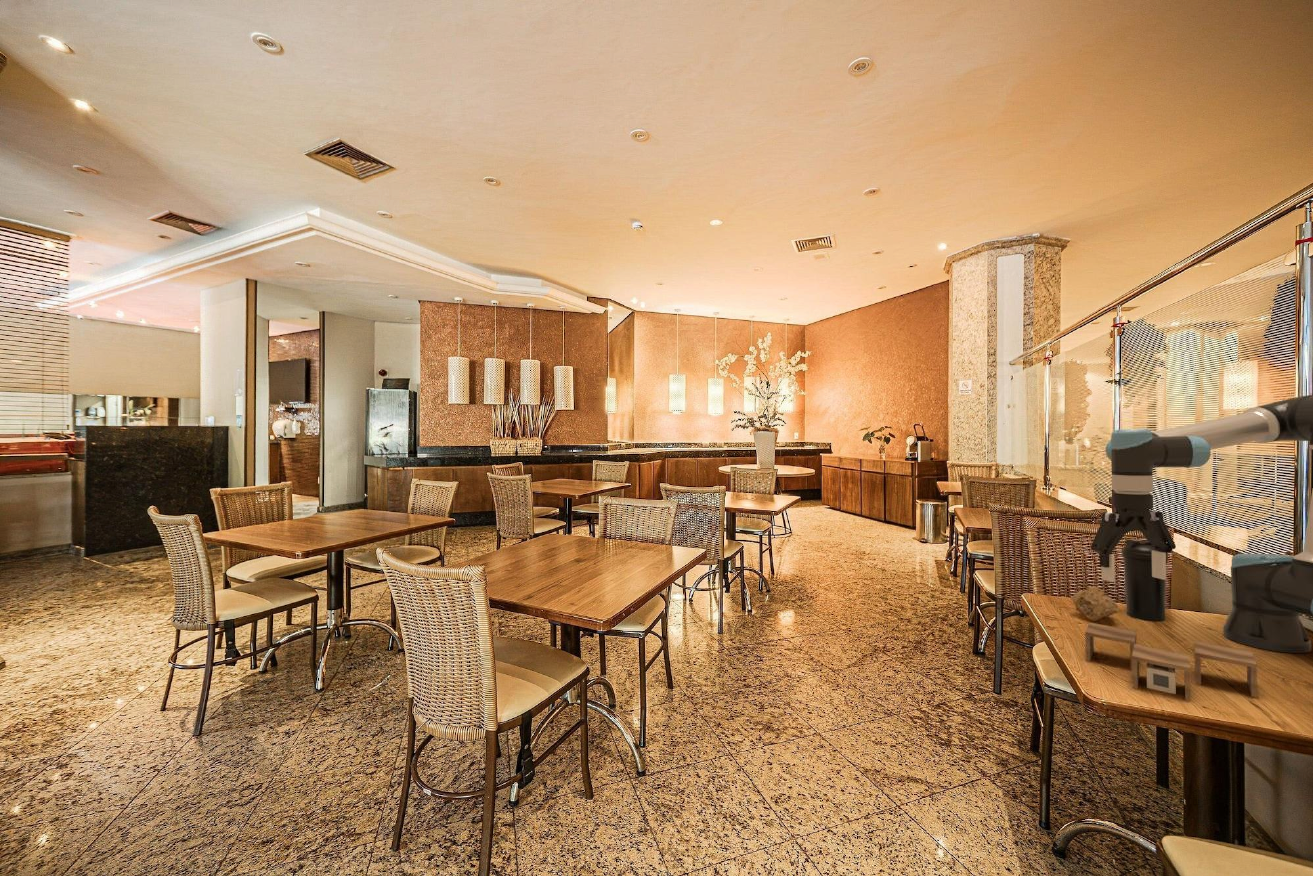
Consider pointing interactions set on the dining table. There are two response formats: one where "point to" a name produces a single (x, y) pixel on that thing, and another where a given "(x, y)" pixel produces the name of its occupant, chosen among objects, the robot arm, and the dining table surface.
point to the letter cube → (1161, 678)
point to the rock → (1094, 603)
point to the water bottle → (1143, 583)
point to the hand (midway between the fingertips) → (1133, 579)
